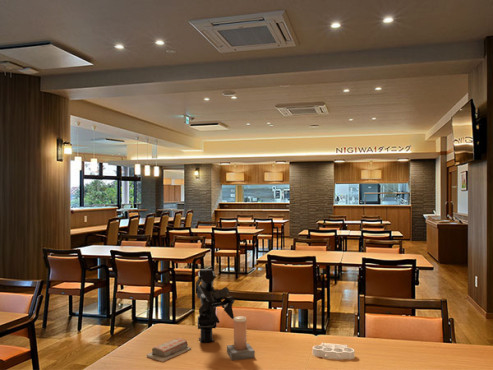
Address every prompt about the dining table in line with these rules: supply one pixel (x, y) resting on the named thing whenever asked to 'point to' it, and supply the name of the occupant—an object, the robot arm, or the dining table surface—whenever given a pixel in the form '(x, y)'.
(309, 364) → the dining table surface
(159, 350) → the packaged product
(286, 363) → the dining table surface
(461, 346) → the dining table surface
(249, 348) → the riser block
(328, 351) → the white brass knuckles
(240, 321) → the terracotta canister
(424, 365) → the dining table surface
